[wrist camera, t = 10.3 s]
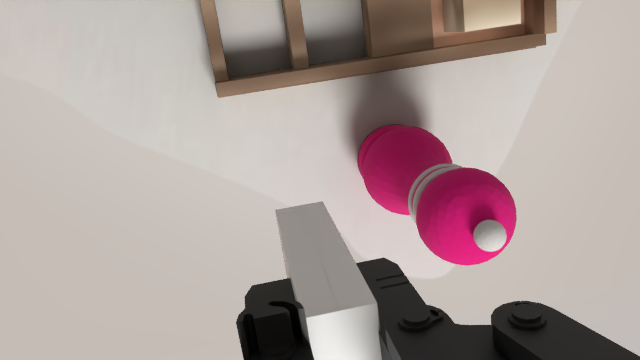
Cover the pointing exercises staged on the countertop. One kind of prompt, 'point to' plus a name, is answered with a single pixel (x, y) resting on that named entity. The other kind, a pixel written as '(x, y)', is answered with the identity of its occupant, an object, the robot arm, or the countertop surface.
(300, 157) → the countertop surface
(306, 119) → the countertop surface
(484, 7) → the birch block
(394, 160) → the pepper mill
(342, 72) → the channel
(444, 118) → the countertop surface
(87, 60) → the countertop surface
